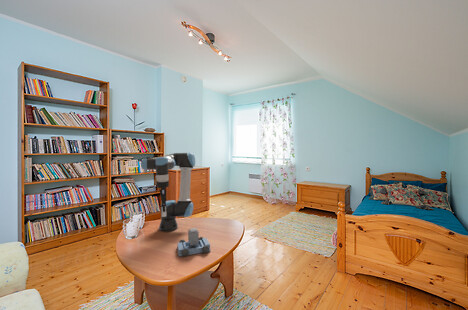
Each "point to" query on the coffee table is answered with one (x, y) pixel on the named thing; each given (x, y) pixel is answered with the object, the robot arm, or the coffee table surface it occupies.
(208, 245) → the chassis
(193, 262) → the coffee table surface
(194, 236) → the block
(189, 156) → the robot arm
